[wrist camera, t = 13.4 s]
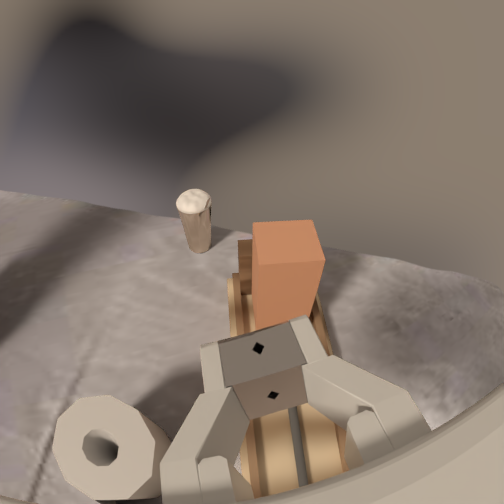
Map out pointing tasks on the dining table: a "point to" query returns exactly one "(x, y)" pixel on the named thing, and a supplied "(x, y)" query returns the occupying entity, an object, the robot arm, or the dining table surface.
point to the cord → (298, 447)
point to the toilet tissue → (110, 450)
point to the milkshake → (196, 218)
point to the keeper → (284, 270)
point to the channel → (278, 424)
